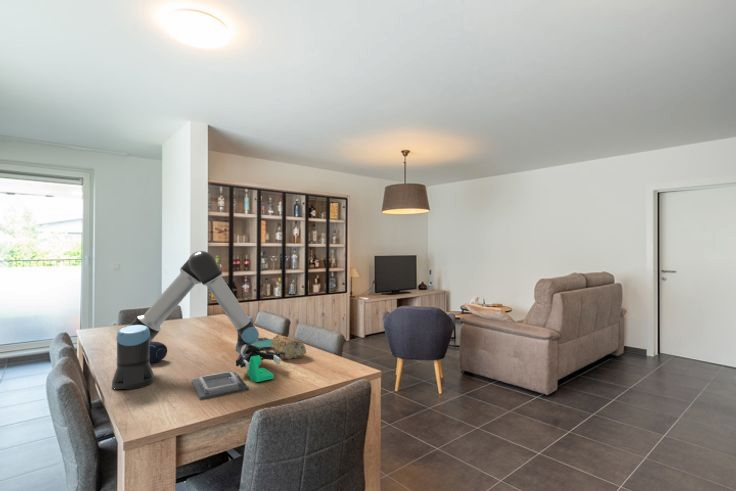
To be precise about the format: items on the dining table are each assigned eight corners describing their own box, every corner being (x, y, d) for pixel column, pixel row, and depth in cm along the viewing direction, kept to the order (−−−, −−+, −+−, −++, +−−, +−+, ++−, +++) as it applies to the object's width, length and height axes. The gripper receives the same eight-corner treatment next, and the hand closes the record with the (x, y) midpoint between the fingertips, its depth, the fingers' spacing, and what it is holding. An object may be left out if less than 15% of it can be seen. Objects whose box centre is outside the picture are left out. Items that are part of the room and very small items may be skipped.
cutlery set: (255, 352, 204) (255, 348, 204) (238, 342, 229) (239, 338, 229) (289, 347, 216) (289, 343, 216) (270, 338, 240) (270, 334, 240)
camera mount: (274, 380, 162) (274, 356, 162) (256, 384, 157) (257, 360, 157) (263, 373, 171) (263, 350, 171) (247, 376, 167) (247, 353, 167)
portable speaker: (114, 361, 189) (114, 341, 189) (131, 355, 199) (131, 336, 199) (153, 365, 182) (153, 345, 182) (169, 360, 191) (169, 340, 191)
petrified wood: (267, 352, 202) (271, 334, 204) (289, 354, 210) (293, 336, 211) (282, 360, 187) (286, 340, 188) (305, 361, 194) (309, 341, 196)
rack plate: (199, 399, 141) (199, 393, 141) (191, 381, 160) (191, 376, 160) (248, 389, 151) (248, 383, 151) (235, 374, 169) (235, 368, 169)
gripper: (275, 356, 189) (291, 367, 172) (223, 364, 176) (234, 378, 158) (275, 341, 189) (291, 351, 172) (223, 348, 176) (234, 360, 158)
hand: (264, 364), depth 165 cm, fingers open, 13 cm apart
